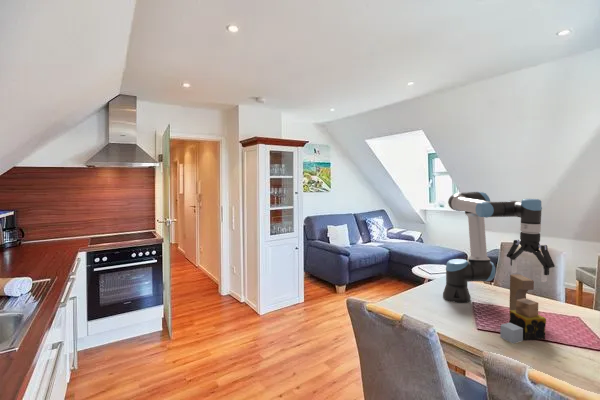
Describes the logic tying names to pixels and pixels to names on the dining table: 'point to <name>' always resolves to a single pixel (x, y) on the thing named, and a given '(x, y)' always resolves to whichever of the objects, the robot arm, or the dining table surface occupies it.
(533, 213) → the robot arm
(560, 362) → the dining table surface
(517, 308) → the walnut cube
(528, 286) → the decorative block
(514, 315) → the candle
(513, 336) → the slate block
